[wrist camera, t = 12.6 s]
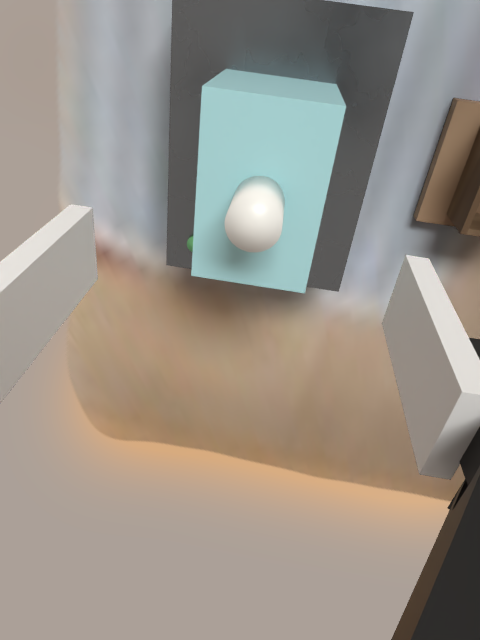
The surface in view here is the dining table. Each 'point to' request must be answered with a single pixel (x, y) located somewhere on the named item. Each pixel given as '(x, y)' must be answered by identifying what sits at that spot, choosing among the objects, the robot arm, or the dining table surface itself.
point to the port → (294, 62)
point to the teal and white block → (263, 177)
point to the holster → (455, 172)
